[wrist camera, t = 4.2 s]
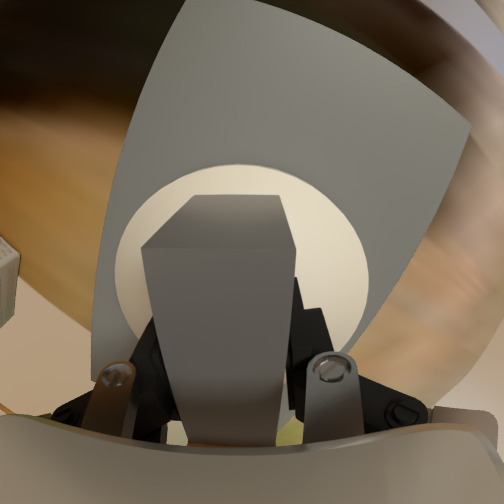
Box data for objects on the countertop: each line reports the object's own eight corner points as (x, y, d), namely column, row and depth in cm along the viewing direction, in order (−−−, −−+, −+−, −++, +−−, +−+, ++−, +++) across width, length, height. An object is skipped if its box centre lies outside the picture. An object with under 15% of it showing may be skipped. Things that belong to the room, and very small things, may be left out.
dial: (110, 170, 11) (-3, 214, 5) (375, 170, 10) (481, 215, 4) (148, 365, 15) (112, 457, 9) (338, 371, 15) (362, 469, 9)
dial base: (202, 4, 9) (193, -15, 7) (452, 126, 11) (477, 128, 9) (101, 362, 18) (90, 382, 16) (272, 420, 20) (273, 441, 18)
